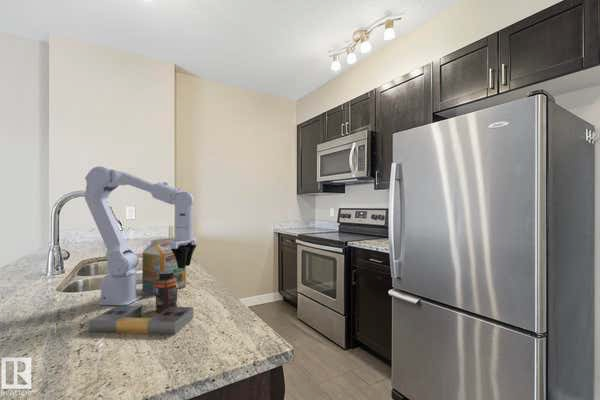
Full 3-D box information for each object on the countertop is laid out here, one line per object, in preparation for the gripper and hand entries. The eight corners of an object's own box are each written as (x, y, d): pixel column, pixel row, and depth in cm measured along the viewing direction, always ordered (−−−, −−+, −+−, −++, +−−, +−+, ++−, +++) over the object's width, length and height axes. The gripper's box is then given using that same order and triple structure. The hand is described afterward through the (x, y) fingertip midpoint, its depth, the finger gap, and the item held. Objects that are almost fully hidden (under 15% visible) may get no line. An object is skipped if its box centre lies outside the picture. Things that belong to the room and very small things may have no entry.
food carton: (168, 283, 114) (168, 236, 114) (185, 287, 108) (185, 237, 109) (142, 290, 104) (142, 239, 105) (159, 295, 99) (160, 240, 99)
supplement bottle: (181, 306, 88) (181, 269, 88) (170, 313, 82) (170, 274, 83) (163, 305, 89) (163, 269, 89) (151, 312, 83) (151, 274, 83)
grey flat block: (89, 332, 70) (89, 319, 70) (117, 316, 80) (117, 305, 80) (175, 334, 69) (175, 321, 69) (193, 318, 79) (193, 306, 79)
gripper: (185, 228, 89) (185, 271, 89) (204, 225, 104) (204, 262, 104) (163, 228, 90) (163, 271, 90) (185, 225, 104) (185, 262, 104)
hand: (184, 266), depth 97 cm, fingers open, 3 cm apart
